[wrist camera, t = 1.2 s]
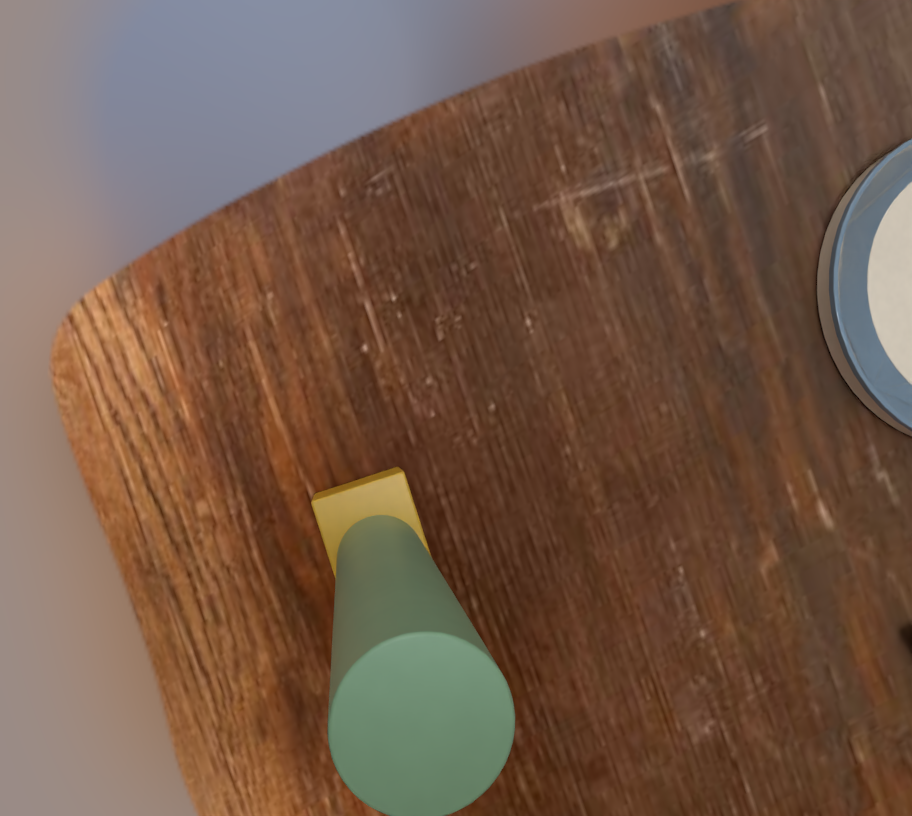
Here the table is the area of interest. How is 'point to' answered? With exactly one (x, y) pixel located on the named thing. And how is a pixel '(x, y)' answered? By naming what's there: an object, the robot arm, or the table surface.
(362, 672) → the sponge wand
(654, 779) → the table surface
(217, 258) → the table surface
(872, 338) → the plate
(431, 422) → the table surface
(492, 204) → the table surface
